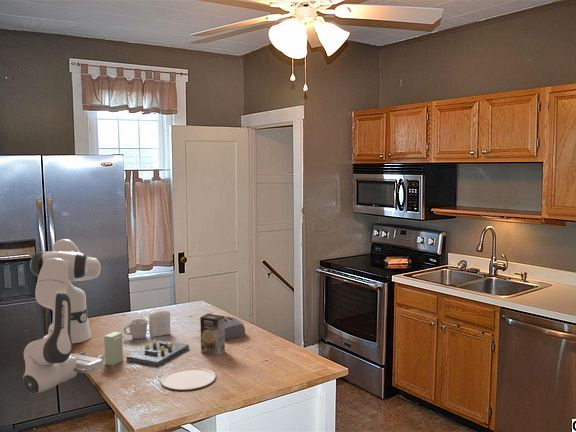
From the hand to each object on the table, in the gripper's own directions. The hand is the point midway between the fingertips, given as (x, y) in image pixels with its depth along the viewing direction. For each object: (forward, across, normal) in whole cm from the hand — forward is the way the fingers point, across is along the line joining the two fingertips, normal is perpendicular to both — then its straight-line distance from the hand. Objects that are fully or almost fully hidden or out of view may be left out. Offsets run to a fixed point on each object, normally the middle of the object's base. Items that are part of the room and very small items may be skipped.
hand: (93, 355), depth 210 cm
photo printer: (+47, +4, +7) cm, 48 cm away
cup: (+39, +12, +7) cm, 42 cm away
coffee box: (+37, -32, +7) cm, 50 cm away
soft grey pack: (+61, -25, +7) cm, 66 cm away
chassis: (+25, -12, +7) cm, 29 cm away
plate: (+8, -39, +7) cm, 41 cm away
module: (+11, 0, +7) cm, 13 cm away
